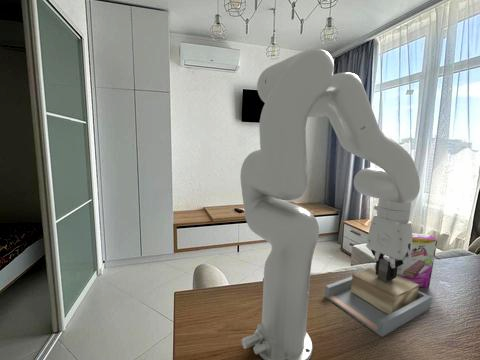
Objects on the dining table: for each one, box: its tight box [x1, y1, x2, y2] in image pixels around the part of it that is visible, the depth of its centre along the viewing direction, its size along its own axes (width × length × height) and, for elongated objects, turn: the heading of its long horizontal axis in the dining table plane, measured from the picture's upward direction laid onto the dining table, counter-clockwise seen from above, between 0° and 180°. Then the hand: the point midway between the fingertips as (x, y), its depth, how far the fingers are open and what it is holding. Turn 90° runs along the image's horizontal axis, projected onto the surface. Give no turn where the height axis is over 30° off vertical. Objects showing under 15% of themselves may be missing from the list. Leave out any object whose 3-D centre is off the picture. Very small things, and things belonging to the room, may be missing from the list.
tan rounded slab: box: [351, 256, 420, 315], centre depth 71 cm, size 12×12×12 cm
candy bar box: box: [388, 232, 438, 289], centre depth 80 cm, size 11×5×16 cm, turn 84°
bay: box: [324, 275, 433, 338], centre depth 71 cm, size 22×17×4 cm
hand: (385, 275), depth 71 cm, fingers closed on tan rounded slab, 2 cm apart
